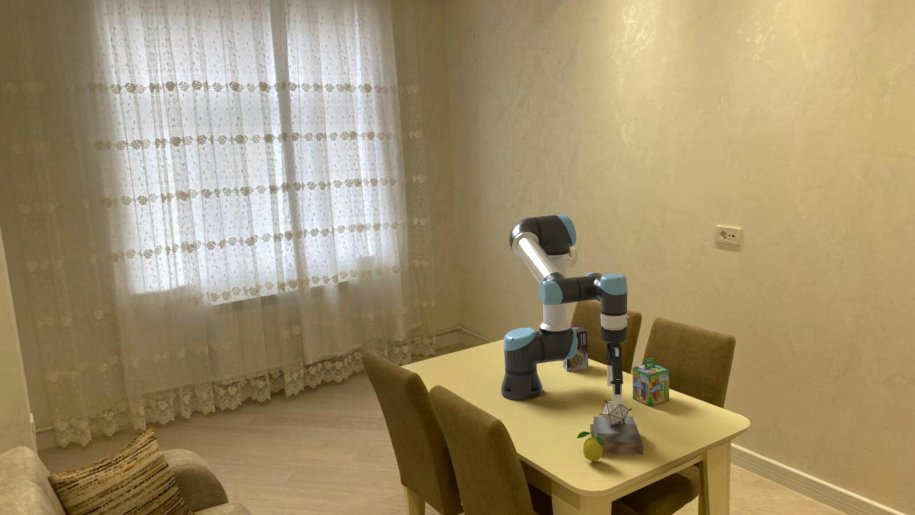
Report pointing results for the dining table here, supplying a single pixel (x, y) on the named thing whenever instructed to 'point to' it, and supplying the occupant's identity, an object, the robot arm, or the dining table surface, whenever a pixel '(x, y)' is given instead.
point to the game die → (614, 413)
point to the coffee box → (578, 352)
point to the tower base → (620, 446)
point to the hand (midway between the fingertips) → (614, 394)
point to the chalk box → (650, 383)
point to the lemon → (592, 446)
